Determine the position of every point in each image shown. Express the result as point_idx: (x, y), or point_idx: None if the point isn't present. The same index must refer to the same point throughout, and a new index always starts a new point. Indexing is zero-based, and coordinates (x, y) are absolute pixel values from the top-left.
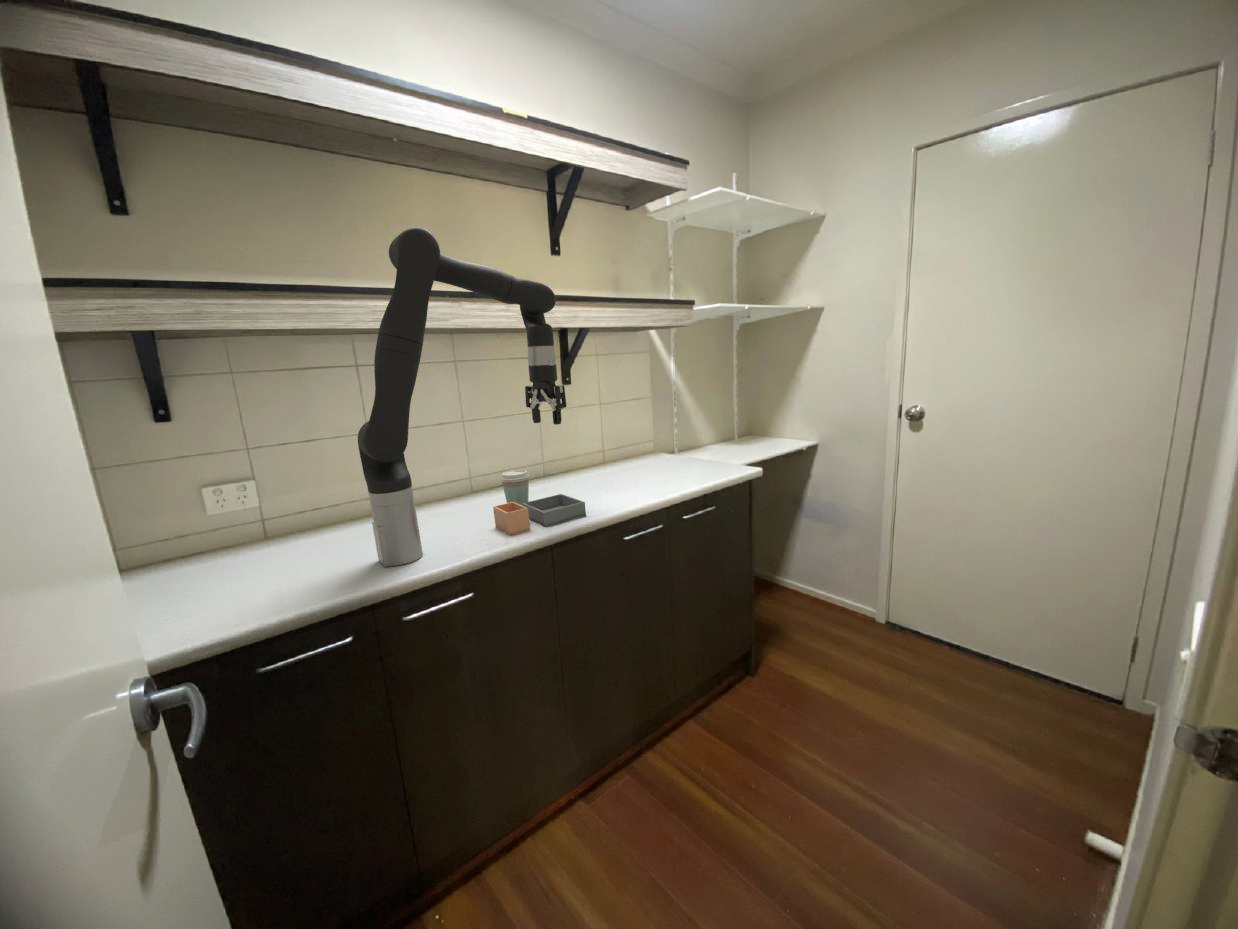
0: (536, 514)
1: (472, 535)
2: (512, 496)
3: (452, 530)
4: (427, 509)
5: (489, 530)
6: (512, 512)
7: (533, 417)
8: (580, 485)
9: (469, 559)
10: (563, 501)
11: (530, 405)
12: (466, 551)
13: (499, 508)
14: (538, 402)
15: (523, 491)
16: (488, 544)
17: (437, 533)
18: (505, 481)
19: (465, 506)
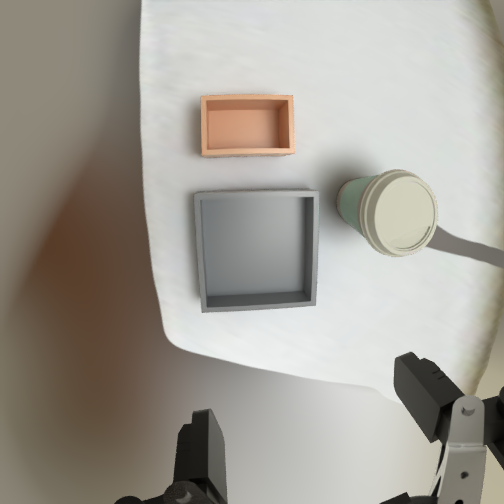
0: (236, 191)
1: (268, 53)
2: (358, 183)
3: (332, 42)
4: (481, 87)
5: (273, 89)
6: (201, 110)
7: (421, 371)
8: None
9: (142, 17)
10: (295, 295)
11: (493, 412)
12: (184, 20)
13: (261, 99)
14: (436, 478)
15: (351, 214)
16: (187, 58)
17: (335, 19)
18: (386, 173)
19: (460, 139)
